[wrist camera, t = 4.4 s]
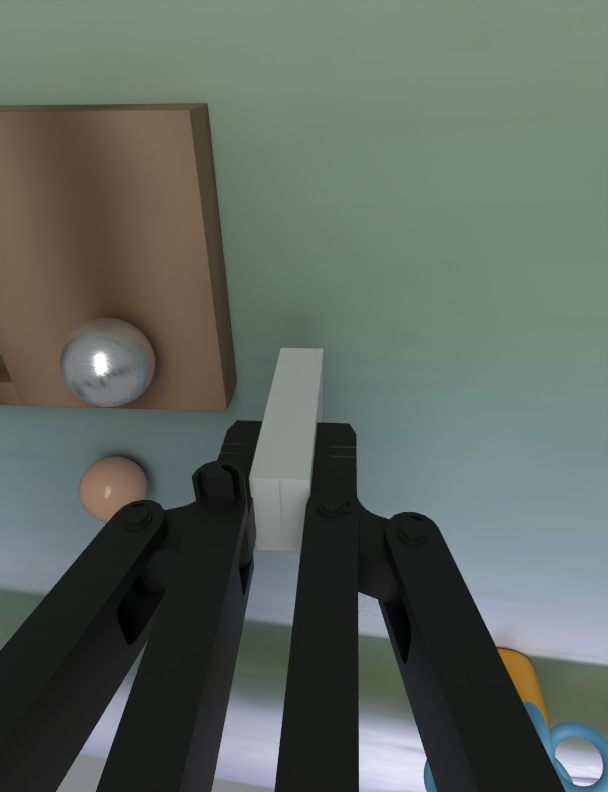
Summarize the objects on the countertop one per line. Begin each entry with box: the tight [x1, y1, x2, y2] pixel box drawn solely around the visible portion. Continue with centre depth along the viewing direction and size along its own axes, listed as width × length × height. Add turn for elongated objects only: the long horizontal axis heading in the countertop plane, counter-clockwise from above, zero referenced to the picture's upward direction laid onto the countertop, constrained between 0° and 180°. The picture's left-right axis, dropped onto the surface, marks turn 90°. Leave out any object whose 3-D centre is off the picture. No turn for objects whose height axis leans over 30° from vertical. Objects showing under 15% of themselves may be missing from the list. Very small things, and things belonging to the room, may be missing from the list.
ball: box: [79, 456, 147, 522], centre depth 28 cm, size 4×4×4 cm
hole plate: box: [0, 104, 237, 411], centre depth 21 cm, size 16×12×2 cm
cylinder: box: [424, 648, 608, 792], centre depth 32 cm, size 12×10×15 cm
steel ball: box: [60, 318, 155, 407], centre depth 20 cm, size 4×4×4 cm
